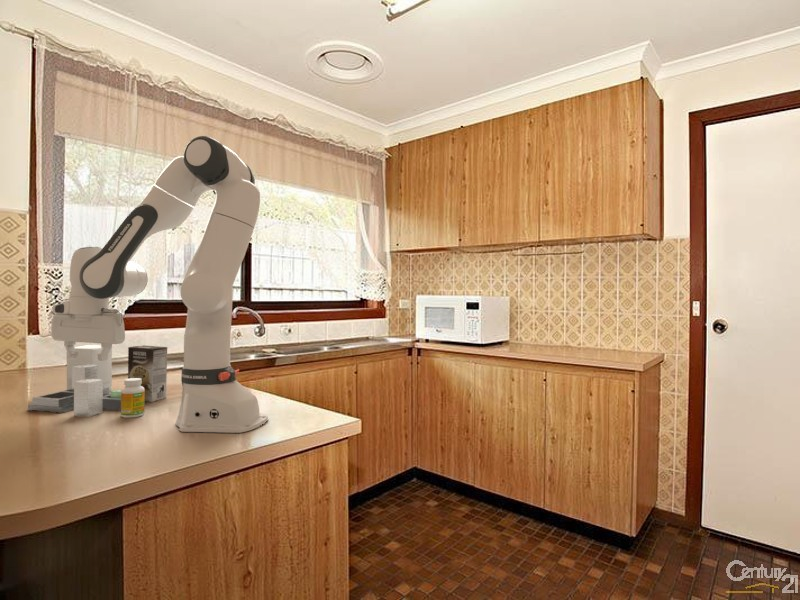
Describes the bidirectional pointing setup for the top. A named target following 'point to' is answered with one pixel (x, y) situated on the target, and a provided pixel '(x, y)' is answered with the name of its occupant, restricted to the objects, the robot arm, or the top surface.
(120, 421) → the top surface
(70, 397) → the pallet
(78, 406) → the billet
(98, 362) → the supplement box
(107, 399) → the grey square frame
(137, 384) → the supplement bottle
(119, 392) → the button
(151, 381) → the coffee box
